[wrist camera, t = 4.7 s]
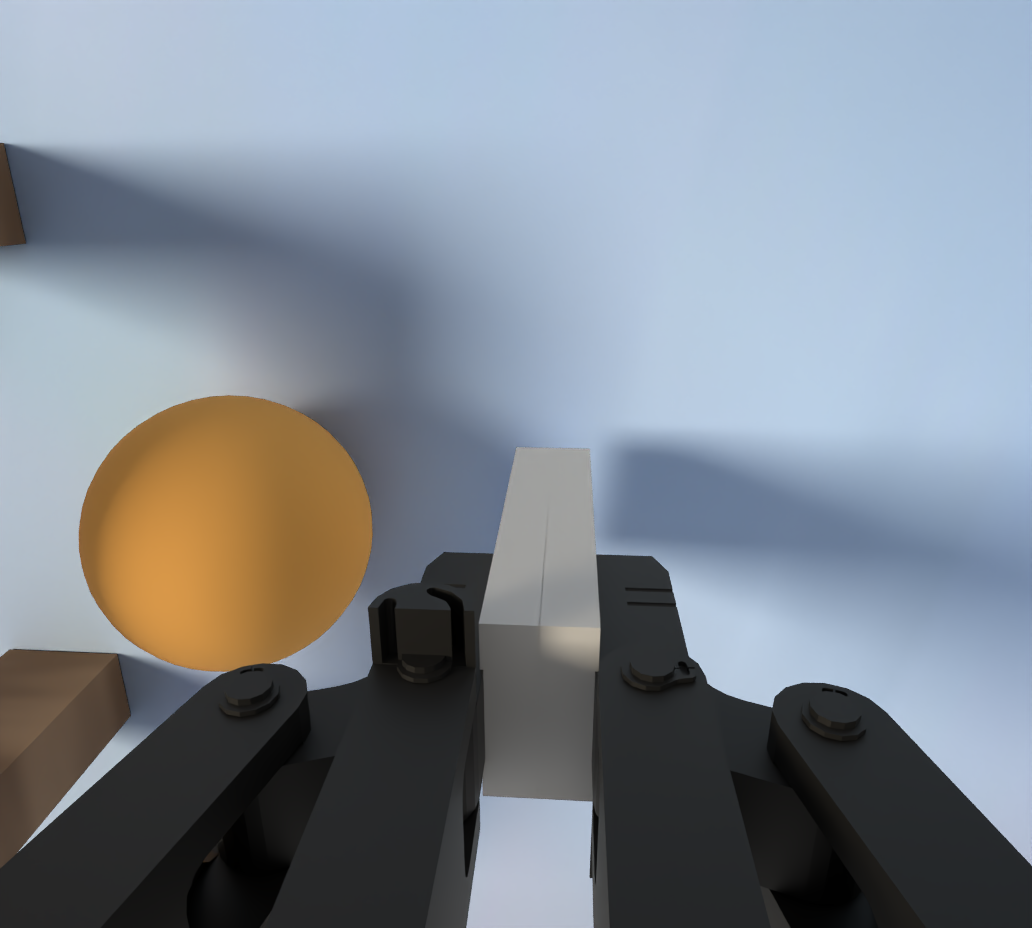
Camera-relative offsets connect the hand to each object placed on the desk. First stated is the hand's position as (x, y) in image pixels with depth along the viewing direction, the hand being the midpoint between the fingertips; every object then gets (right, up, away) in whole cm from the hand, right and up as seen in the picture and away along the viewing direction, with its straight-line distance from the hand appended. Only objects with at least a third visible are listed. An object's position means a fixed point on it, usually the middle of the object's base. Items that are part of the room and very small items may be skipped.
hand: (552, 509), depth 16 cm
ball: (-6, 0, 0) cm, 6 cm away
